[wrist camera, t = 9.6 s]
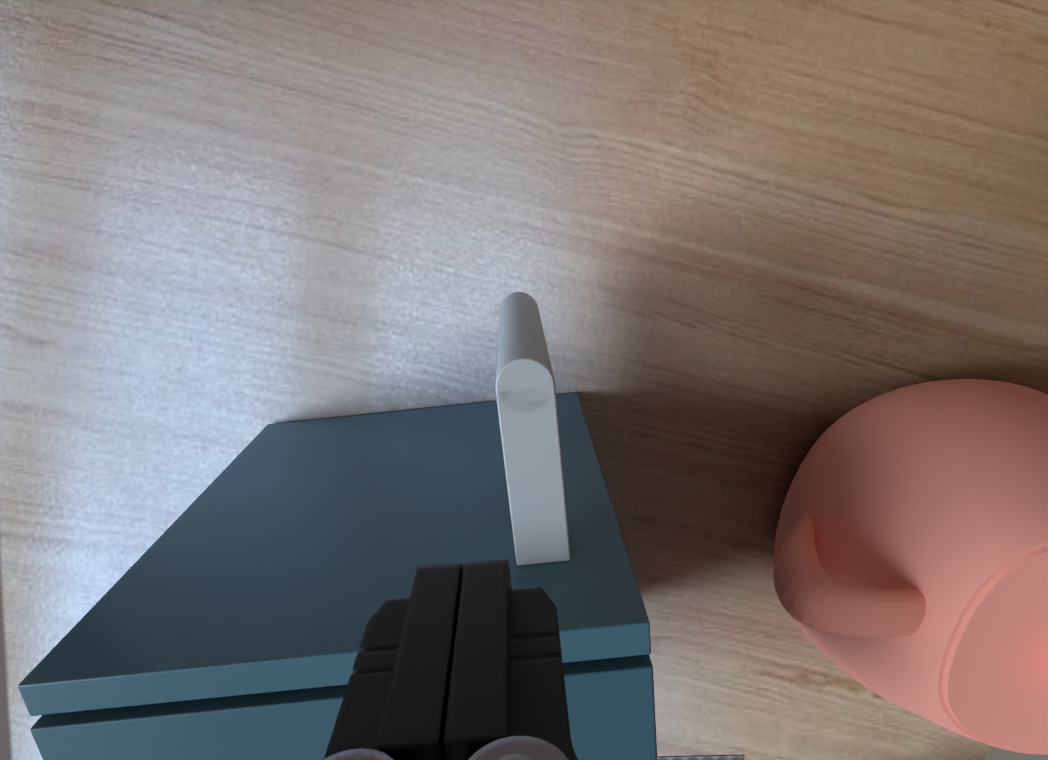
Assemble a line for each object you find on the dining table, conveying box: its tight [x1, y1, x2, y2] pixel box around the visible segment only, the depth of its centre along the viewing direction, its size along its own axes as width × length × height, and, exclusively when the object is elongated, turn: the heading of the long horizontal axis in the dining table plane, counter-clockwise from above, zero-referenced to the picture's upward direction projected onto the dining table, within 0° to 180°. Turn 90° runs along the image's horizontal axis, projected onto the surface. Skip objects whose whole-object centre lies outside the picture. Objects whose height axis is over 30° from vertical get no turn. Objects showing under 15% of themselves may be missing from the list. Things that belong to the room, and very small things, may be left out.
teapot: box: [774, 379, 1048, 755], centre depth 29 cm, size 25×17×13 cm
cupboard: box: [31, 654, 657, 760], centre depth 27 cm, size 12×16×18 cm
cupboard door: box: [18, 292, 651, 716], centre depth 24 cm, size 7×16×18 cm, turn 96°
